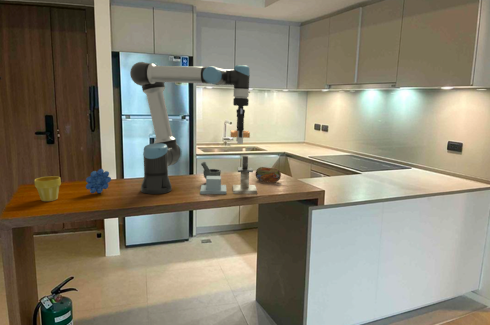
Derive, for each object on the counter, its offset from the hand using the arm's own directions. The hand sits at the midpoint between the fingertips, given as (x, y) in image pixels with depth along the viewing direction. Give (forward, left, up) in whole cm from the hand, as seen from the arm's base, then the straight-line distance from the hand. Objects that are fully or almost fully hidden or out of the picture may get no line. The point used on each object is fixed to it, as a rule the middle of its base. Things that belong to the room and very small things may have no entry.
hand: (239, 142), depth 181 cm
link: (0, 0, +3) cm, 3 cm away
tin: (+18, +21, -25) cm, 38 cm away
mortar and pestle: (-15, +17, -25) cm, 34 cm away
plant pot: (-87, -18, -25) cm, 92 cm away
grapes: (-69, -6, -25) cm, 74 cm away
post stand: (+3, 0, -25) cm, 25 cm away
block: (-13, -1, -25) cm, 28 cm away
